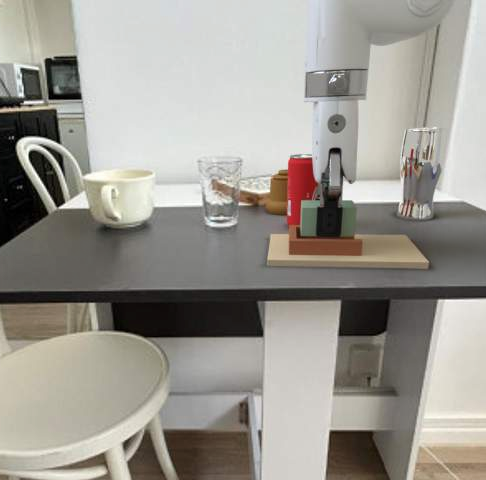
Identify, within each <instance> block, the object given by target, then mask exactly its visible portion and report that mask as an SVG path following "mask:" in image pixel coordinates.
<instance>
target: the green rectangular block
mask: <svg viewBox="0 0 486 480" xmlns="http://www.w3.org/2000/svg"><path fill="white" fill-rule="evenodd" d="M317 206H320V200H302V201H301V222H300V230H301V236H317V235H316V222H317ZM342 206H343V213H342V226H341V235H340V236H339V237H354V235H356V223H357V211H358V210H357V209H358V208H357V205H356V204H355V202H354V201H353V199H342Z"/></svg>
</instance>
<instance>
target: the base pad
mask: <svg viewBox="0 0 486 480" xmlns="http://www.w3.org/2000/svg"><path fill="white" fill-rule="evenodd" d="M266 265H267V267H307V268H308V267H312V268H313V267H315V268H316V267H317V268H363V269H364V268H367V269H369V268H370V269H420V270H423V269H424V270H427V269H429V266H430V262H429V260H428V259H427V258H426V256H424V254H423V253H422V252H421V251H420V250H419V248H418V247H417V246H416V245H415V244H414V243H413V242H412V240H411V239H410V238H409V236H408V235H407V234H355V235H354V237H318V236H301V230H300V225H289V226H288V233H270V237H269V244H268V251H267V258H266Z"/></svg>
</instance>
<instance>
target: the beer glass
mask: <svg viewBox="0 0 486 480" xmlns="http://www.w3.org/2000/svg"><path fill="white" fill-rule="evenodd" d="M448 131H449V128H448V127H432V126H431V127H410V128H405V129H404V133H403V138H402V142H401V149H400V156H399V175H400V200H399V203H398V207H397V210H396V215H395V216H396V217H397V218H399V219H403V220H408V221H429V220H432V219H433V218H434V215H435V214H434V213H435V212H434V199H435V198H434V197H435V192H436V190H437V186H438V183H439V181H440V178H441V176H442V175H441V174H442V172H443V168H444V165H445V160H446V156H447V147H448V133H449V132H448Z"/></svg>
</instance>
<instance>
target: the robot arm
mask: <svg viewBox="0 0 486 480" xmlns="http://www.w3.org/2000/svg"><path fill="white" fill-rule="evenodd" d="M455 1H456V0H307V11H306V12H307V13H306V37H305V38H306V41H305V62H304V93H303V102H304V103H313V105H312V106H313V107H312V111H313V112H312V134H311V136H312V137H311V154H312V161H313V174H314V178H315V180H316V182H317V198H315V200H320V206H317V222H316V235H317V236H318V237H339V236H340V235H341V226H342V213H343V206H342V200H343V196H344V195H343V191H344V180H345V181H346V182H347V183H348V184H349V185H352V184H354V183H356V181H357V164H358V163H357V162H358V146H359V145H358V143H359V142H358V141H359V101H367V92H368V82H369V81H368V80H369V69H370V60H371V59H370V58H371V46H373V45H374V46H375V47H376V46H377V47H385V46H390V45H394V44H396V43H400V42H402V41H403V42H404V41H407V40H410V39H414V38H417V37H420V36H422V35H425V34H427V33H429V32H431V31H432V30H434V29H435V28H437V27H438V25H440V24H441V23H442V22H443V21H444V20H445V19H446V18H447V17H448V15H449V13H450V12H451V10H452V8H453V6H454V3H455Z"/></svg>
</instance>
